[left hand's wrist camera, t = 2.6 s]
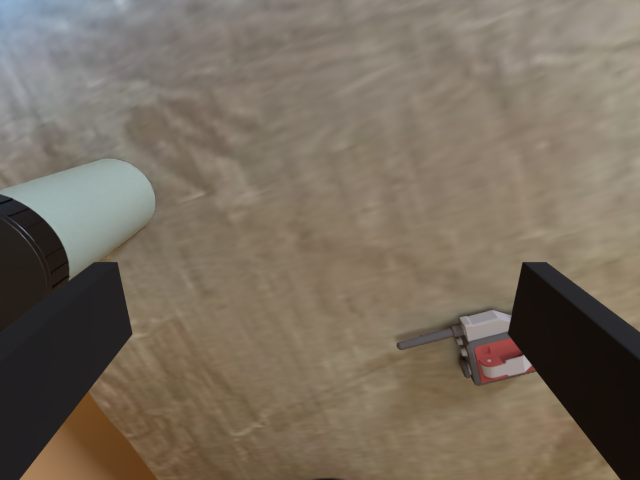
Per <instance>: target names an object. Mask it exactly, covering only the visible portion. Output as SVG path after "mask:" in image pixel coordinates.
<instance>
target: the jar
mask: <svg viewBox="0 0 640 480" xmlns="http://www.w3.org/2000/svg"><path fill="white" fill-rule="evenodd" d="M0 194H2V195H5V196H8V197H10V198H13V199H15V200H17V201H19V202H21V203H23V204H24V205H26V206H28V207H30V208H31V209H32V210H34V211H35V212H36V213H38V214H39V215H40V216H41V217H42V218H43V219H44V220H45V221H46V222H47V223H48V224H49V225H50V226H51V227H52V228H53V230H54V231H55V232H56V234H57V235H58V237H59V238H60V240H61V242H62V244H63V246H64V248H65V251H66V253H67V257H68V261H69V268H70V269H69V276H70V277H69V280H71V279H72V278H73V277H75V276H76V275H77V274H79V273H80V272H81V271H83V270H84V269H85V268H87V267H88V266H89V265H91V264H92V263H93V262H99V261H100V260H101V259H103V258H104V257H105V256H107V255H108V254H109V253H111V252H112V251H113V250H114V249H116V248H117V247H118V246H120V245H121V244H122V243H124V242H125V241H126V240H128V239H129V238H130V237H132V236H133V235H134V234H135V233H137V232H138V231H139V230H141V229H142V228H143V227H145V226H146V225H147V224H148V223H149V221H150V220H151V218H152V217H153V214H154V211H155V204H156V203H155V194H154V191H153V188H152V186H151V184H150V182H149V181H148V179H147V178H146V177H145V175H144V174H143V173H142V172H141V171H140V170H138V169H137V168H136V167H134V166H133V165H131V164H129V163H127V162H124V161H122V160H118V159H100V160H97V161H94V162H90V163H87V164H84V165H81V166H77V167H74V168H71V169H67V170H64V171H61V172H58V173H54V174H51V175H48V176H44V177H41V178H38V179H34V180H31V181H28V182H25V183H21V184H18V185H15V186H11V187H8V188H5V189H2V190H0Z"/></svg>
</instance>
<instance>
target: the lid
mask: <svg viewBox="0 0 640 480" xmlns="http://www.w3.org/2000/svg"><path fill="white" fill-rule="evenodd" d="M69 269H70V268H69V261H68V257H67V253H66V251H65V248H64V246H63V244H62V242H61V240H60V238H59V237H58V235H57V234H56V232H55V231H54V230H53V228H52V227H51V226H50V225H49V224H48V223H47V222H46V221H45V220H44V219H43V218H42V217H41V216H40V215H39V214H38V213H36V212H35V211H34V210H32V209H31V208H30V207H28V206H26V205H24V204H23V203H21V202H19V201H17V200H15V199H13V198H10V197H8V196H5V195H2V194H0V332H1V331H2V330H4V329H5V328H6V327H8V326H9V325H10V324H12V323H13V322H14V321H16V320H17V319H19V318H20V317H21V316H23V315H24V314H25V313H27V312H28V311H29V310H31V309H32V308H33V307H35V306H36V305H37V304H39V303H40V302H41V301H43V300H44V299H45V298H47V297H48V296H49V295H51V294H52V293H53V292H55V291H56V290H57V289H59V288H60V287H61V286H63V285H64V284H65V283H67V282H68V281H69V277H70V276H69Z"/></svg>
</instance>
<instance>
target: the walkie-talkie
mask: <svg viewBox="0 0 640 480" xmlns="http://www.w3.org/2000/svg"><path fill="white" fill-rule="evenodd" d="M459 319H460V323H461V324H458V325H455V326H451V328H448V329H444V330H440V331H436V332H433V333H429V334H425V335H421V336H419V337H417V338H413V339H409V340H406V341H402V342H399V343H397V348H398V349H399V350H404V349H407V348H411V347H415V346H419V345H423V344H427V343H431V342H434V341H438V340H442V339H446V338H450V337H459V338H456V341H457V344H458V345H462V348H463V349H460V351H461V354H462V356H464V357H465V361H466V362H465V361H464V360H461V361H460V366H461V369H462V372H463V374H464V376H465V377H466V378H470V376H471V378H472V380H473V382H474V384H475V385H478V386H480V385H484V384H489V383H493V382H497V381H501V380H505V379H509V378H513V377H516V376H520V375H525V374H529V373H533V372H536V370H535V369H534V367H533V366H532V365H531V364H530V362H529V361H528V360H527V358H526V357H525V356H524V355H523V353H522V352H521V351H520V349H519V348H518V347H517V346H516V344H515V343H514V342H513V340H512V339H511V338H510V337H509V335H508V329H509V325H510V320H511V315H507V314H504V313H501V312H498V311H495V310H491V311H487V312H483V313H479V314H475V315H471V316H468V317H467V316H463V317H460V318H459Z"/></svg>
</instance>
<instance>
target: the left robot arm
mask: <svg viewBox="0 0 640 480" xmlns="http://www.w3.org/2000/svg"><path fill="white" fill-rule="evenodd" d="M131 335H132V329H131V325H130V320H129V315H128V310H127V306H126V301H125V296H124V291H123V287H122V282H121V277H120V273H119V268H118V263H117V262H93V263H92V264H91V265H89V266H88V267H87V268H85V269H84V270H83V271H81V272H80V273H79V274H77V275H76V276H75V277H73V278H72V279H71V280H69V281H68V282H67V283H65V284H64V285H63V286H61V287H60V288H59V289H57V290H56V291H55V292H53V293H52V294H51V295H49V296H48V297H47V298H45V299H44V300H43V301H41V302H40V303H39V304H37V305H36V306H35V307H33V308H32V309H31V310H29V311H28V312H27V313H25V314H24V315H23V316H21V317H20V318H19V319H17V320H16V321H14V322H13V323H12V324H10V325H9V326H8V327H6V328H5V329H4V330H2V331H1V332H0V480H19V479H20V478H21V477H22V476H23V474H24V473H25V472H26V470H27V469H28V468H29V467H30V465H31V464H32V463H33V461H34V460H35V459H36V458H37V456H38V455H39V454H40V452H41V451H42V450H43V449H44V447H45V446H46V445H47V443H48V442H49V441H50V439H51V438H52V437H53V436H54V434H55V433H56V432H57V430H58V429H59V428H60V427H61V425H62V424H63V423H64V422H65V420H66V419H67V418H68V416H69V415H70V414H71V412H72V411H73V410H74V409H75V407H76V406H77V405H78V403H79V402H80V401H81V400H82V398H83V397H84V396H85V394H86V393H87V392H88V391H89V389H90V388H91V387H92V385H93V384H94V383H95V382H96V380H97V379H98V378H99V376H100V375H101V374H102V373H103V371H104V370H105V369H106V367H107V366H108V365H109V364H110V362H111V361H112V360H113V358H114V357H115V356H116V355H117V353H118V352H119V351H120V349H121V348H122V347H123V346H124V344H125V343H126V342H127V340H128V339H129V338H130V337H131ZM508 335H509V337H510V338H511V339H512V340H513V342H514V343H515V344H516V346H517V347H518V348H519V349H520V351H521V352H522V353H523V355H524V356H525V357H526V358H527V360H528V361H529V362H530V364H531V365H532V366H533V367H534V369H535V370H536V371H537V373H538V374H539V375H540V376H541V378H542V379H543V380H544V382H545V383H546V384H547V385H548V387H549V388H550V389H551V391H552V392H553V393H554V394H555V396H556V397H557V398H558V400H559V401H560V402H561V403H562V405H563V406H564V407H565V409H566V410H567V411H568V412H569V414H570V415H571V416H572V418H573V419H574V420H575V422H576V423H577V424H578V425H579V427H580V428H581V429H582V431H583V432H584V433H585V434H586V436H587V437H588V438H589V440H590V441H591V442H592V443H593V445H594V446H595V447H596V449H597V450H598V451H599V452H600V454H601V455H602V456H603V458H604V459H605V460H606V461H607V463H608V464H609V465H610V467H611V468H612V469H613V470H614V472H615V473H616V474H617V476H618V477H619V478H620V479H621V480H640V332H639V331H638V330H636V329H635V328H634V327H632V326H631V325H630V324H628V323H627V322H626V321H624V320H623V319H621V318H620V317H619V316H617V315H616V314H615V313H613V312H612V311H611V310H609V309H608V308H607V307H605V306H604V305H603V304H601V303H600V302H599V301H597V300H596V299H595V298H593V297H592V296H591V295H589V294H588V293H587V292H585V291H584V290H583V289H581V288H580V287H579V286H577V285H576V284H575V283H573V282H572V281H571V280H569V279H568V278H567V277H565V276H564V275H563V274H561V273H560V272H559V271H557V270H556V269H555V268H553V267H552V266H551V265H549V264H548V263H547V262H523V263H522V268H521V273H520V277H519V282H518V287H517V291H516V296H515V301H514V306H513V310H512V315H511V320H510V325H509V329H508Z"/></svg>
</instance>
